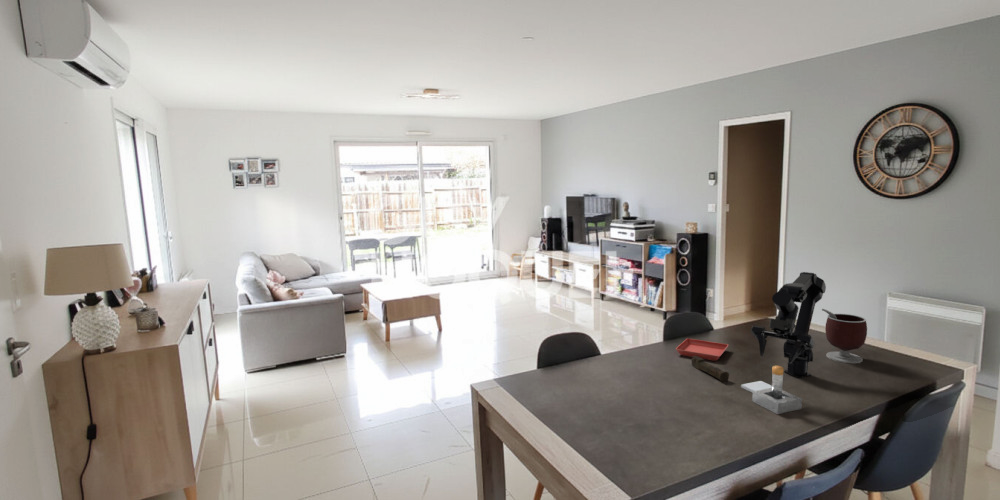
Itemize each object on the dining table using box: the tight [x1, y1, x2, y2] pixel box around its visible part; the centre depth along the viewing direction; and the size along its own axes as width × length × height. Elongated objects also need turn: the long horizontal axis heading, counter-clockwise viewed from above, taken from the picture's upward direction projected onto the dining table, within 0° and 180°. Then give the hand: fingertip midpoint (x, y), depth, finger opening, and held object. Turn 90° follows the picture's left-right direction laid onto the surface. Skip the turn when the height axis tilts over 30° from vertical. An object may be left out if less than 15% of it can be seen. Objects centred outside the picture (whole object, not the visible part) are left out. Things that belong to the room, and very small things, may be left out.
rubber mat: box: [740, 380, 772, 394], centre depth 174 cm, size 9×9×1 cm
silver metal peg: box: [771, 365, 785, 400], centre depth 162 cm, size 4×4×13 cm
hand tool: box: [691, 356, 730, 383], centre depth 191 cm, size 19×4×5 cm, turn 14°
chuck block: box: [751, 388, 803, 415], centre depth 162 cm, size 10×10×4 cm
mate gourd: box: [821, 308, 868, 364], centre depth 202 cm, size 16×14×20 cm
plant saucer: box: [675, 338, 730, 362], centre depth 214 cm, size 18×18×3 cm
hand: (775, 359), depth 168 cm, fingers open, 9 cm apart
